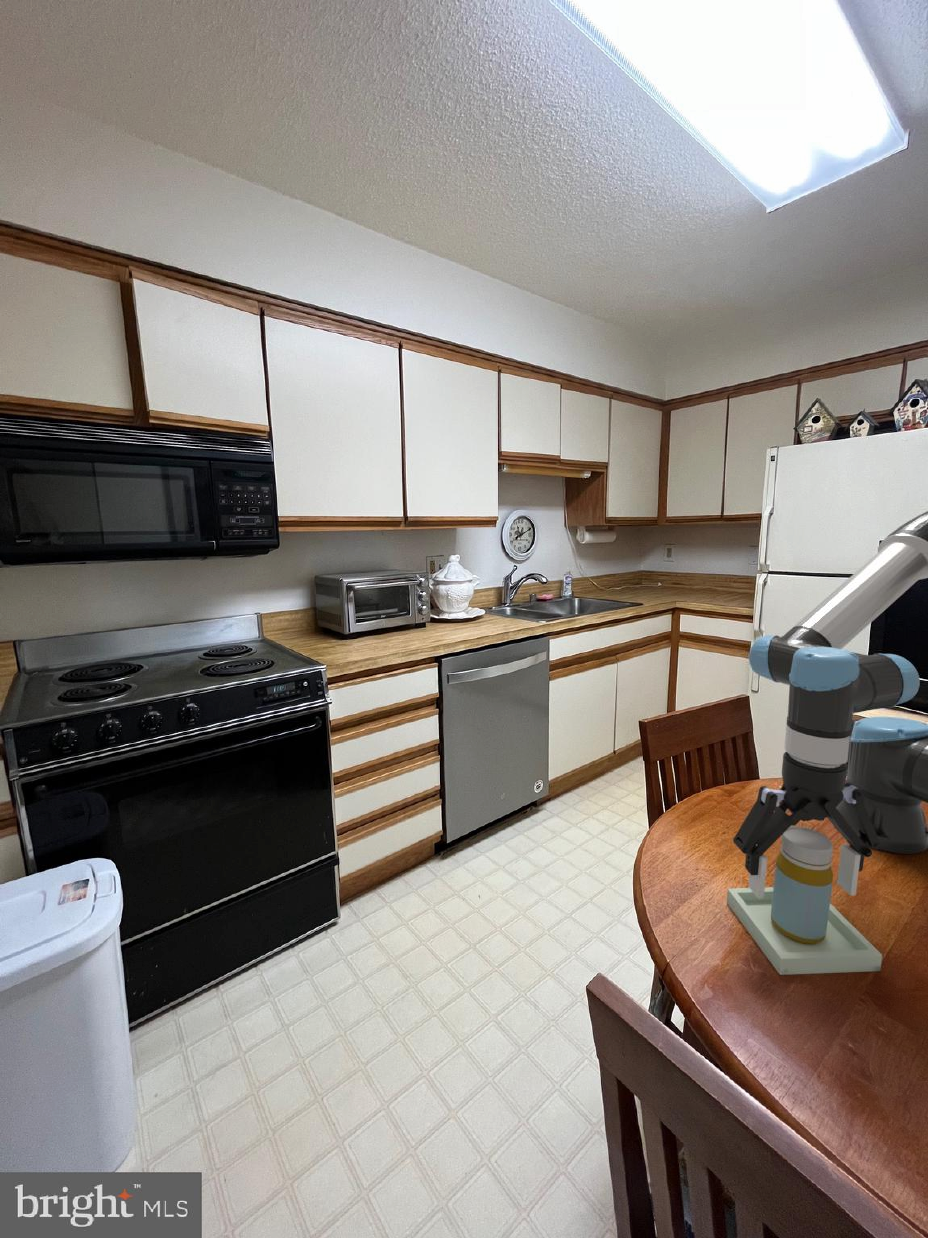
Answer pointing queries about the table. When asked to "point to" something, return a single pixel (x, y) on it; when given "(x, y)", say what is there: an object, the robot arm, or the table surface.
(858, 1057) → the table surface
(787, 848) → the bottle
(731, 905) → the pale green square tray
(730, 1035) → the table surface
